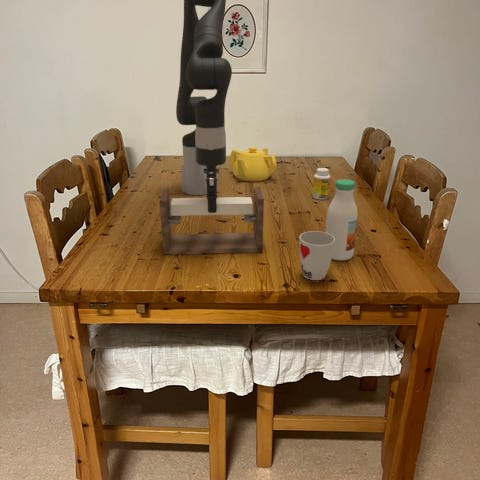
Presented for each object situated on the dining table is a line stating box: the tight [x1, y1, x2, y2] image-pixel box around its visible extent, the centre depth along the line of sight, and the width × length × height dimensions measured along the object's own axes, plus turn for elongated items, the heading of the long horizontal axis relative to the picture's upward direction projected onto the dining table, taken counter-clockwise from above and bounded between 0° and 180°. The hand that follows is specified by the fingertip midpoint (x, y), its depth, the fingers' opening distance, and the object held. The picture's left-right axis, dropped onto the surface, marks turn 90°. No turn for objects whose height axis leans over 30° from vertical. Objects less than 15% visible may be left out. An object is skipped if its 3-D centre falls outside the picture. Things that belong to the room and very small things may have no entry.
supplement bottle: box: [312, 167, 331, 201], centre depth 161 cm, size 6×6×10 cm
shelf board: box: [170, 196, 254, 217], centre depth 122 cm, size 21×5×3 cm, turn 94°
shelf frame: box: [159, 186, 265, 255], centre depth 123 cm, size 26×10×15 cm, turn 94°
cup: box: [298, 230, 335, 281], centre depth 109 cm, size 8×8×10 cm
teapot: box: [228, 146, 278, 183], centre depth 183 cm, size 17×17×12 cm
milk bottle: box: [324, 178, 359, 261], centre depth 118 cm, size 8×8×20 cm
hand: (212, 208), depth 122 cm, fingers closed on shelf board, 5 cm apart
